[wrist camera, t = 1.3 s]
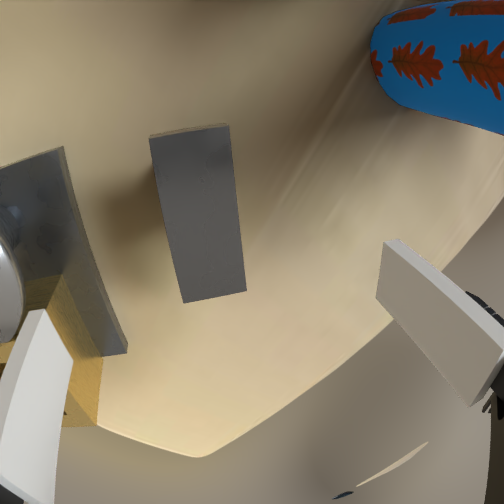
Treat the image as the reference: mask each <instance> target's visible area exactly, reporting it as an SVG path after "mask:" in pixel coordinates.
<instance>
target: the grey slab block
mask: <svg viewBox="0 0 504 504" xmlns="http://www.w3.org/2000/svg"><path fill="white" fill-rule="evenodd" d="M149 144H150V150H151V156H152V162H153V167H154V173H155V178H156V184H157V189H158V194H159V199H160V204H161V209H162V214H163V219H164V223H165V228H166V233H167V237H168V242H169V246H170V250H171V255H172V259H173V263H174V267H175V272H176V276H177V280H178V284H179V288H180V292H181V296H182V299H183V303H189V302H194V301H199V300H204V299H210V298H215V297H220V296H225V295H230V294H234V293H239V292H244V291H247V288H246V279H245V270H244V262H243V253H242V244H241V235H240V226H239V216H238V207H237V198H236V189H235V179H234V170H233V161H232V151H231V141H230V132H229V125H227V124H225V123H221V124H214V125H207V126H200V127H193V128H187V129H181V130H175V131H170V132H164V133H159V134H154V135H151V136H150V137H149Z"/></svg>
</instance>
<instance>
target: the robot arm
mask: <svg viewBox="0 0 504 504" xmlns="http://www.w3.org/2000/svg"><path fill="white" fill-rule="evenodd" d="M376 299H377V300H378V301H379V302H380V303H381V305H382V306H383V307H384V308H385V309H386V310H387V311H388V312H389V314H390V315H391V316H392V317H393V318H394V319H395V320H396V321H397V323H398V324H399V325H400V326H401V327H402V328H403V329H404V331H405V332H406V333H407V334H408V335H409V336H410V338H411V339H412V340H413V341H414V342H415V343H416V345H417V346H418V347H419V348H420V349H421V351H422V352H423V353H424V354H425V355H426V356H427V357H428V359H429V360H430V361H431V362H432V364H433V365H434V366H435V367H436V369H437V370H438V371H439V372H440V373H441V374H442V376H443V377H444V378H445V379H446V381H447V382H448V383H449V385H450V386H451V387H452V388H453V390H454V391H455V392H456V393H457V394H458V396H459V397H460V398H461V400H462V401H463V402H464V403H465V405H466V406H467V407H468V408H469V407H471V406H472V405H474V404H475V403H477V402H478V401H480V400H481V399H482V398H483V397H484V395H485V394H486V392H487V391H488V389H489V388H490V387H491V388H492V389H493V391H494V392H493V393H492V395H491V396H490V398H489V399H488V401H487V402H486V404H485V405H484V406H483V410H482V412H483V413H484V412H485V411H486V410H487V408H488V407H489V406H490V404H491V408H490V409H489V412H488V413H491V441H490V460H489V471H488V480H487V488H486V495H485V502H484V504H504V319H503V318H501V317H500V316H499V315H498V314H496V312H495V311H494V310H493V309H491V308H489V307H488V305H487V304H486V303H485V302H484V301H482V300H481V299H480V298H479V297H477V296H475V295H473V294H471V293H469V292H467V291H466V292H464V291H463V290H462V289H460V288H459V287H458V286H457V285H456V284H454V283H453V282H452V281H451V280H450V279H449V278H447V277H446V276H445V275H444V274H442V273H441V272H440V271H439V270H438V269H436V268H435V267H434V266H433V265H431V264H430V263H429V262H428V261H426V260H425V259H424V258H423V257H421V256H420V255H419V254H418V253H416V252H415V251H414V250H412V249H411V248H410V247H408V246H407V245H406V244H405V243H403V242H402V241H401V240H399V239H395V240H390V241H386V242H383V250H382V258H381V266H380V273H379V279H378V286H377V292H376ZM72 365H73V359H72V358H71V356H70V354H69V353H68V351H67V349H66V347H65V346H64V344H63V342H62V340H61V339H60V337H59V335H58V333H57V331H56V329H55V328H54V326H53V324H52V322H51V320H50V318H49V316H48V314H47V312H46V310H45V309H40V310H34V311H29V313H28V315H27V317H26V319H25V321H24V323H23V326H22V328H21V330H20V332H19V335H18V337H17V339H16V342H15V344H14V346H13V349H12V351H11V354H10V356H9V359H8V361H7V364H6V366H5V369H4V371H3V374H2V377H1V380H0V504H23V503H24V501H25V502H27V503H29V504H54V494H55V477H56V465H57V456H58V447H59V439H60V431H61V425H62V418H63V412H64V406H65V400H66V395H67V389H68V384H69V379H70V375H71V370H72Z"/></svg>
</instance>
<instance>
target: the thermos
mask: <svg viewBox="0 0 504 504" xmlns="http://www.w3.org/2000/svg"><path fill="white" fill-rule="evenodd" d="M370 49H371V63H372V66H373V69H374V72H375V75H376V78H377V80H378V82H379V83H380V85H381V86H382V88H383V89H384V91H385V92H386V94H387V95H388V96H389V97H391V98H392V99H393V100H394V101H396V102H397V103H398V104H399V105H401V106H405V107H408V108H411V109H414V110H418V111H421V112H424V113H428V114H431V115H434V116H437V117H441V118H445V119H449V120H453V121H457V122H460V123H464V124H468V125H471V126H475V127H478V128H481V129H485V130H488V131H491V132H494V133H497V134H500V135H503V136H504V0H455V1H446V2H438V3H431V4H425V5H419V6H415V7H412V8H408V9H404V10H401V11H397V12H394V13H392V14H389V15H387V16H385V17H383V18H382V20H381V21H380V22H379V23H378V24H377V26H376V27H375V28H374V32H373V36H372V39H371V43H370Z"/></svg>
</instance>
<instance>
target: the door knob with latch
mask: <svg viewBox="0 0 504 504" xmlns="http://www.w3.org/2000/svg"><path fill="white" fill-rule="evenodd" d="M40 309H45V310H46V312H47V314H48V316H49V318H50V320H51V322H52V324H53V326H54V328H55V329H56V331H57V333H58V335H59V337H60V339H61V340H62V342H63V344H64V346H65V347H66V349H67V351H68V353H69V354H70V356H71V358H72V359H73V365H72V370H71V375H70V379H69V384H68V389H67V395H66V400H65V406H64V412H63V418H62V425H61V427H84V426H96V425H97V412H98V401H99V391H100V382H101V373H102V365H103V359H102V357H104V356H111V355H118V354H125V353H127V347H128V343H127V340H126V338H125V336H124V334H123V331H122V329H121V327H120V325H119V322H118V320H117V317H116V315H115V313H114V310H113V308H112V305H111V303H110V300H109V298H108V295H107V293H106V290H105V287H104V285H103V282H102V279H101V277H100V274H99V271H98V268H97V266H96V263H95V260H94V257H93V254H92V251H91V248H90V245H89V242H88V239H87V236H86V232H85V229H84V226H83V223H82V219H81V216H80V212H79V209H78V205H77V202H76V198H75V194H74V190H73V187H72V183H71V179H70V174H69V170H68V166H67V162H66V157H65V152H64V148H63V146H61V147H58V148H55V149H52V150H48V151H45V152H42V153H39V154H36V155H33V156H30V157H28V158H25V159H22V160H19V161H17V162H14V163H11V164H9V165H6V166H3V167H1V168H0V380H1V377H2V374H3V371H4V369H5V366H6V364H7V361H8V359H9V356H10V354H11V351H12V349H13V346H14V344H15V342H16V339H17V337H18V335H19V332H20V330H21V328H22V326H23V323H24V321H25V319H26V317H27V315H28V313H29V311H34V310H40Z"/></svg>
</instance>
